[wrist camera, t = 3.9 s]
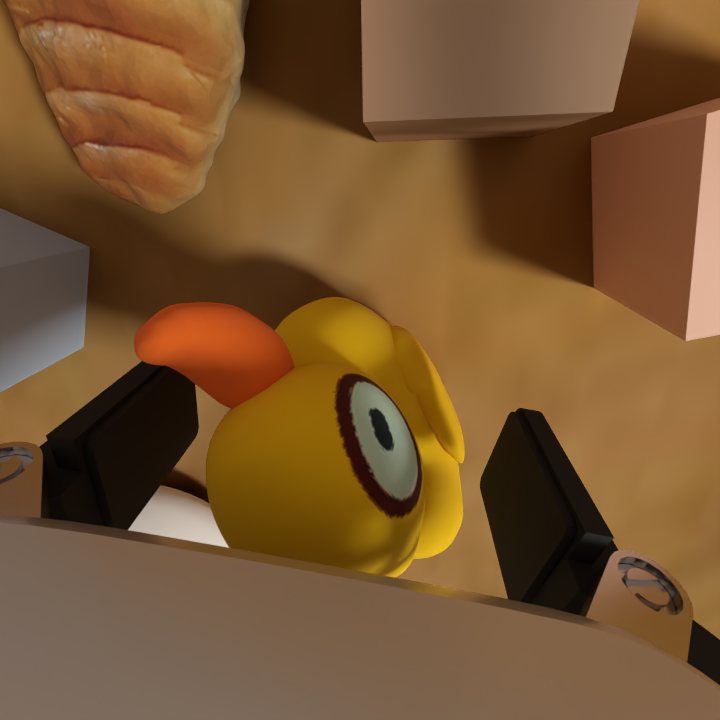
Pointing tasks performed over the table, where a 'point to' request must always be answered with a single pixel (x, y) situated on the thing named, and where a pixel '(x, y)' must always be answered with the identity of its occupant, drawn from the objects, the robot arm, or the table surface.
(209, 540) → the flower in vase
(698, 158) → the block terracotta
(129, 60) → the pastry
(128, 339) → the table surface
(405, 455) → the duckling
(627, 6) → the block walnut
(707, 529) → the table surface
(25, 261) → the block slate
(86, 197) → the table surface
